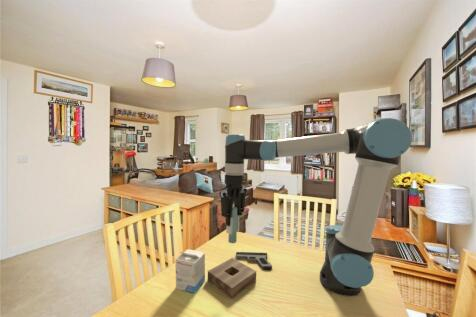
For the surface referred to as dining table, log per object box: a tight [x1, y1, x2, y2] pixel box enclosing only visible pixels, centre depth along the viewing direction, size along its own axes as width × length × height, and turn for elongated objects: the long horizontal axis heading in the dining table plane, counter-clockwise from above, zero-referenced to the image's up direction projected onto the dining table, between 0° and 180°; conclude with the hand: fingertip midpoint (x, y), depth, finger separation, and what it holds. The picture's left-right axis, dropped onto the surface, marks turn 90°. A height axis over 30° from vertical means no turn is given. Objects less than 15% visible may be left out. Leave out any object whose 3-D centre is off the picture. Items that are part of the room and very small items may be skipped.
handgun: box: [235, 251, 273, 271], centre depth 97 cm, size 2×17×12 cm
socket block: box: [207, 257, 257, 299], centre depth 83 cm, size 14×14×4 cm
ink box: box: [174, 248, 206, 294], centre depth 80 cm, size 9×8×13 cm
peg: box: [228, 205, 238, 244], centre depth 82 cm, size 3×3×14 cm
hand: (232, 231), depth 82 cm, fingers closed on peg, 3 cm apart
